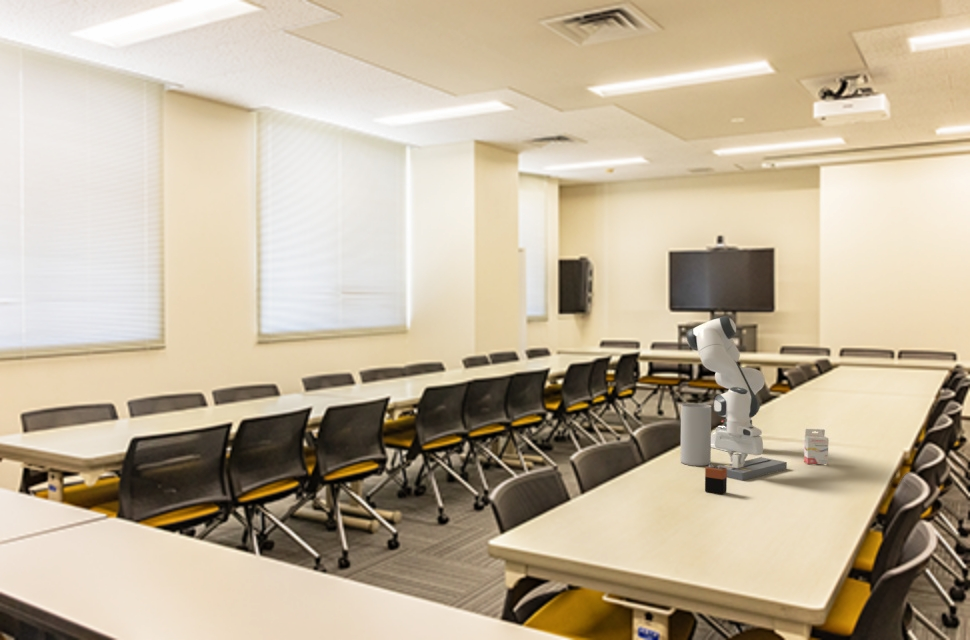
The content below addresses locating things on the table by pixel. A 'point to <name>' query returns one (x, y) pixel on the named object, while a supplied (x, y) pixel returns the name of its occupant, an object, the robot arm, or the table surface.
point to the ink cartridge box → (816, 447)
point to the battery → (715, 479)
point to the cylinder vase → (695, 434)
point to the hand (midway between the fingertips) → (737, 462)
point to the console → (755, 468)
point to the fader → (736, 461)
